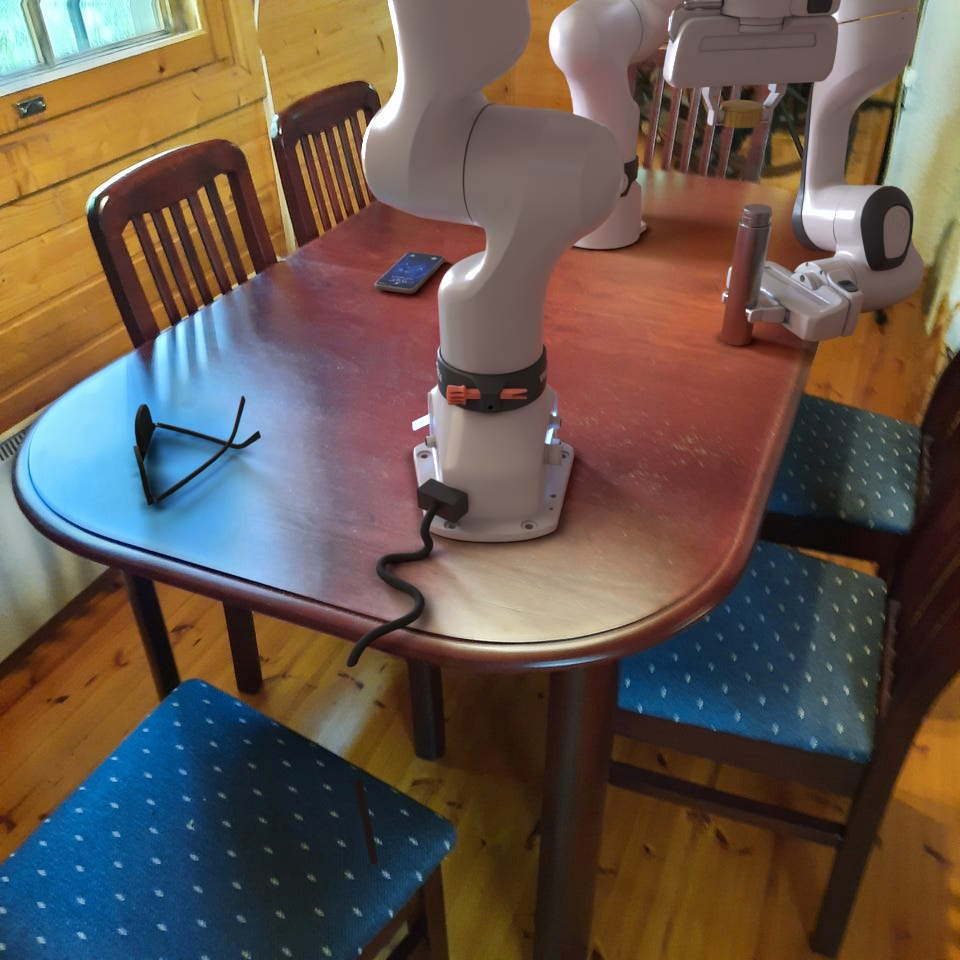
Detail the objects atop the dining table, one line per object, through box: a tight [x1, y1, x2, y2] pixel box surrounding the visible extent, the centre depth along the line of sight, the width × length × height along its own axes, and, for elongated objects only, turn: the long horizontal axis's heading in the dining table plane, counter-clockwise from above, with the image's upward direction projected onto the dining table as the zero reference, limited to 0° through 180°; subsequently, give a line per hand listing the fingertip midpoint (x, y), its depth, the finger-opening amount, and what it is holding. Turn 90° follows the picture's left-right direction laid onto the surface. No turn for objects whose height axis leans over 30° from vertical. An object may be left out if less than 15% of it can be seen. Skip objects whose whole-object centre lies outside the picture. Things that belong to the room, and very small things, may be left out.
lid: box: [719, 99, 763, 129], centre depth 105 cm, size 5×5×2 cm
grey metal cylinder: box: [720, 203, 773, 347], centre depth 117 cm, size 4×4×19 cm
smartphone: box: [373, 251, 446, 295], centre depth 143 cm, size 7×1×15 cm
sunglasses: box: [132, 395, 262, 506], centre depth 100 cm, size 17×14×5 cm
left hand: (739, 123), depth 106 cm, fingers closed on lid, 5 cm apart
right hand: (735, 307), depth 120 cm, fingers closed on grey metal cylinder, 4 cm apart
